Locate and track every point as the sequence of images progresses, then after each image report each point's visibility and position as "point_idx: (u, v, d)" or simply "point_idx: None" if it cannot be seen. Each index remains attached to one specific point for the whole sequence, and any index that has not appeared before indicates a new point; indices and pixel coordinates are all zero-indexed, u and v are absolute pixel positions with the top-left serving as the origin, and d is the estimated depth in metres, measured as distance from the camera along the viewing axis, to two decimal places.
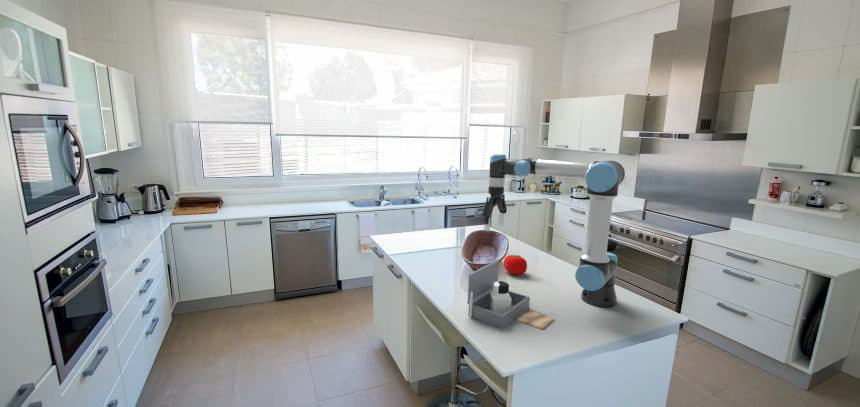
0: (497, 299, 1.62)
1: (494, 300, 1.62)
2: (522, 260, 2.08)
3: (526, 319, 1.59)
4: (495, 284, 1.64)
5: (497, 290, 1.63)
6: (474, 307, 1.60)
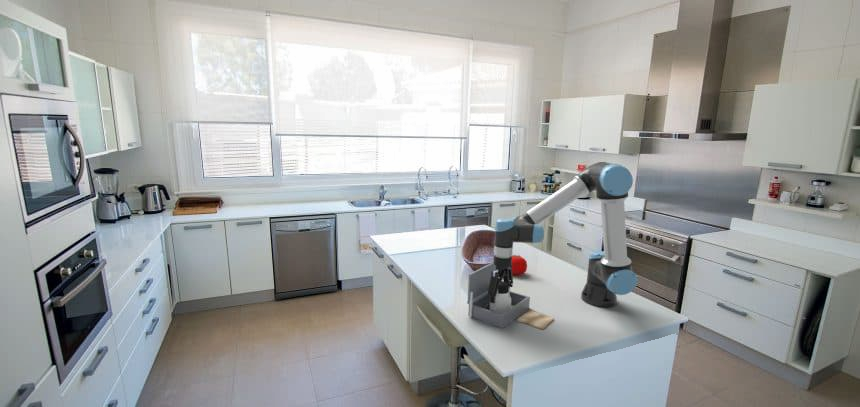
0: (497, 299, 1.62)
1: None
2: (522, 260, 2.08)
3: (526, 319, 1.59)
4: None
5: None
6: (474, 307, 1.60)
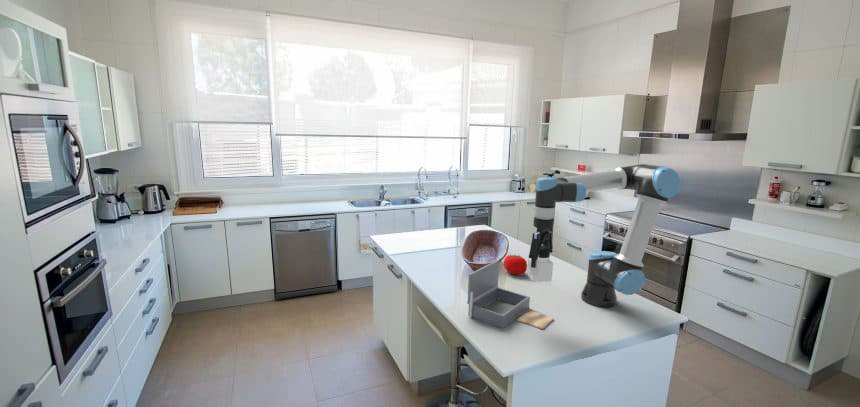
0: (538, 263, 1.52)
1: None
2: (522, 260, 2.07)
3: (526, 319, 1.59)
4: None
5: None
6: (474, 307, 1.60)
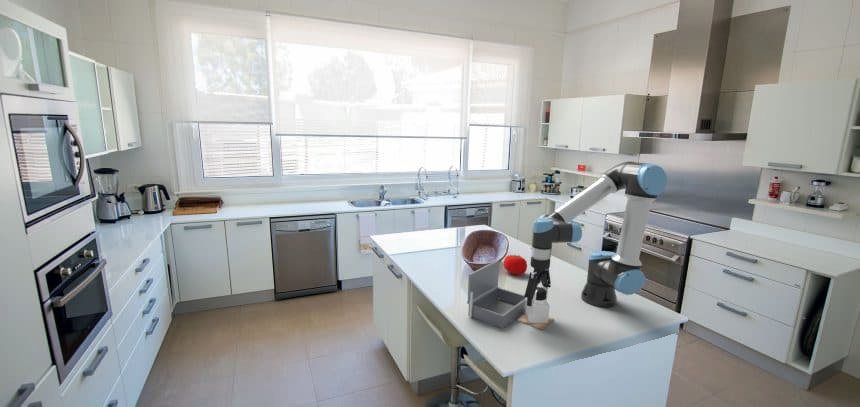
0: (535, 306, 1.55)
1: None
2: (522, 260, 2.08)
3: (526, 319, 1.59)
4: None
5: (535, 296, 1.56)
6: (474, 307, 1.60)
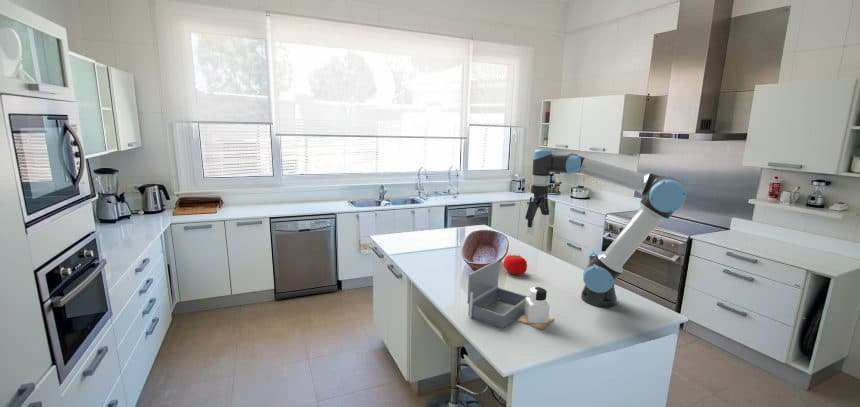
0: (535, 306, 1.55)
1: (532, 307, 1.55)
2: (522, 260, 2.08)
3: (526, 319, 1.59)
4: (532, 290, 1.57)
5: (535, 296, 1.56)
6: (474, 307, 1.60)
